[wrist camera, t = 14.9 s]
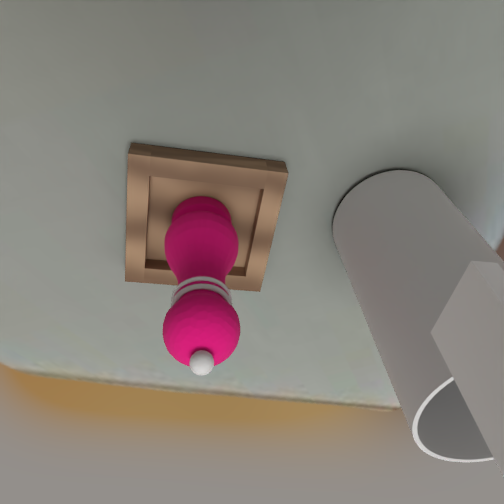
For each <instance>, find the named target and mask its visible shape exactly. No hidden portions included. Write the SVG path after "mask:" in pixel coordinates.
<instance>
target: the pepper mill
mask: <svg viewBox="0 0 504 504" xmlns="http://www.w3.org/2000/svg"><path fill="white" fill-rule="evenodd" d="M238 245H239V242H238V236H237V233H236V231H235V229H234V227H233V226H232V221H231V215H230V213H229V211H228V209H227V208H226V207H225V205H223V204H222V203H221V202H220V201H218V200H216V199H214V198H211V197H206V196H197V197H192V198H189V199H187V200H185V201H183V202H182V203H180V204H179V205H178V206H177V208H176V209H175V211H174V212H173V215H172V221H171V225H170V227H169V228H168V230H167V232H166V235H165V240H164V247H165V256H166V259H167V262H168V265H169V267H170V268H171V270H172V271H173V273H174V274H175V276H176V278H177V281H178V286H177V287H176V288H175V290H174V291H173V294H172V300H171V301H172V303H171V308H170V309H169V311H168V312H167V314H166V317H165V320H164V323H163V338H164V343H165V345H166V347H167V350H168V351H169V353H170V354H171V355H172V356H173V357H174V358H175V359H176V360H177V361H179V362H181V363H182V364H185V365H187V366H190V368H191V370H192V371H193V372H194V373H195V374H197V375H206V374H208V373H209V372H210V371H211V370H212V369H213V366H215V365H217V364H219V363H221V362H223V361H224V360H226V359H227V358H228V357H229V356H230V355H231V354H232V352H233V351H234V350H235V348H236V346H237V344H238V340H239V336H240V323H239V318H238V315H237V313H236V311H235V310H234V308H233V307H232V297H231V293H230V291H229V289H228V288H227V286H226V285H225V278H226V276H227V274H228V273H229V272H230V270H231V269H232V267H233V266H234V264H235V261H236V258H237V255H238Z"/></svg>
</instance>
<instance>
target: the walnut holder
mask: <svg viewBox="0 0 504 504" xmlns="http://www.w3.org/2000/svg"><path fill="white" fill-rule="evenodd" d="M287 177H288V171H287V168H286V165H285V162H281V161H273V160H265V159H257V158H249V157H241V156H233V155H225V154H217V153H209V152H201V151H193V150H185V149H177V148H169V147H161V146H153V145H145V144H137V143H131V145H130V149H129V152H128V175H127V218H126V261H125V281H127V282H140V283H154V284H167V285H178V281H177V278H176V276H175V274H174V273H173V271H172V270H171V268H170V267H169V265H168V262H167V259H166V256H165V247H164V240H165V235H166V232H167V230H168V228H169V227H170V225H171V221H172V215H173V212H174V211H175V209H176V208H177V206H178V205H179V204H180V203H182V202H183V201H185V200H187V199H189V198H192V197H197V196H206V197H211V198H214V199H216V200H218V201H220V202H221V203H222V204H223V205H225V207H226V208H227V209H228V211H229V213H230V215H231V221H232V226H233V227H234V229H235V231H236V233H237V236H238V242H239V245H238V255H237V258H236V261H235V264H234V266H233V267H232V269H231V270H230V272H229V273H228V274H227V276H226V278H225V285H226V286H227V288H228V289H233V290H246V291H259V292H260V290H261V285H262V281H263V277H264V273H265V269H266V265H267V260H268V256H269V252H270V248H271V244H272V239H273V235H274V231H275V227H276V223H277V219H278V214H279V210H280V206H281V202H282V198H283V194H284V189H285V185H286V181H287Z"/></svg>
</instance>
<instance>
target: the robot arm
mask: <svg viewBox="0 0 504 504" xmlns="http://www.w3.org/2000/svg"><path fill="white" fill-rule="evenodd" d="M430 333H431V335H432V337H433V339H434V340H435V342H436V344H437V346H438V348H439V350H440V352H441V354H442V356H443V358H444V360H445V362H446V364H447V366H448V368H449V370H450V372H451V374H452V376H453V378H454V380H455V382H456V384H457V386H458V388H459V390H460V392H461V394H462V396H463V398H464V400H465V402H466V404H467V406H468V408H469V410H470V412H471V414H472V416H473V418H474V420H475V422H476V424H477V426H478V428H479V430H480V432H481V434H482V436H483V438H484V440H485V442H486V444H487V446H488V448H489V450H490V452H491V454H492V456H493V458H494V460H495V462H496V463H497V465H498V467H499V469H500V471H501V473H502V475H503V477H504V271H503V269H502V268H501V267H500V266H499V264H498V263H493V262H482V261H471V262H470V264H469V265H468V267H467V269H466V271H465V272H464V274H463V276H462V278H461V279H460V281H459V283H458V285H457V287H456V288H455V290H454V292H453V294H452V295H451V297H450V299H449V301H448V302H447V304H446V306H445V308H444V309H443V311H442V313H441V315H440V316H439V318H438V320H437V322H436V323H435V325H434V327H433V329H432V331H431V332H430Z"/></svg>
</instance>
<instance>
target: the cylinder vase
mask: <svg viewBox="0 0 504 504" xmlns="http://www.w3.org/2000/svg"><path fill="white" fill-rule="evenodd" d="M333 238H334V242H335V245H336V247H337V250H338V252H339V255H340V257H341V259H342V262H343V264H344V267H345V269H346V272H347V274H348V277H349V279H350V282H351V284H352V287H353V289H354V292H355V294H356V297H357V299H358V302H359V304H360V306H361V309H362V311H363V314H364V316H365V319H366V321H367V324H368V326H369V329H370V331H371V334H372V336H373V339H374V341H375V344H376V346H377V349H378V351H379V353H380V356H381V358H382V361H383V363H384V366H385V368H386V371H387V373H388V376H389V378H390V381H391V383H392V386H393V388H394V391H395V393H396V396H397V398H398V401H399V403H400V405H401V408H402V410H403V413H404V415H405V418H406V420H407V423H408V425H409V428H410V430H411V433H412V435H413V437H414V440H415V442H416V444H417V445H418V446H419V447H420V448H421V449H422V450H423V451H424V452H425V453H427V454H429V455H431V456H433V457H435V458H439V459H442V460H447V461H453V462H478V461H486V460H493V459H494V458H493V456H492V454H491V452H490V450H489V448H488V446H487V444H486V442H485V440H484V438H483V436H482V434H481V432H480V430H479V428H478V426H477V424H476V422H475V420H474V418H473V416H472V414H471V412H470V410H469V408H468V406H467V404H466V402H465V400H464V398H463V396H462V394H461V392H460V390H459V388H458V386H457V384H456V382H455V380H454V378H453V376H452V374H451V372H450V370H449V368H448V366H447V364H446V362H445V360H444V358H443V356H442V354H441V352H440V350H439V348H438V346H437V344H436V342H435V340H434V339H433V337H432V335H431V333H430V332H431V331H432V329H433V327H434V325H435V323H436V322H437V320H438V318H439V316H440V315H441V313H442V311H443V309H444V308H445V306H446V304H447V302H448V301H449V299H450V297H451V295H452V294H453V292H454V290H455V288H456V287H457V285H458V283H459V281H460V279H461V278H462V276H463V274H464V272H465V271H466V269H467V267H468V265H469V264H470V262H471V261H482V262H493V263H498V264H499V266H500V267H501V268H502V269H503V271H504V262H503V260H502V259H501V258H500V257H499V256H498V255H497V253H496V252H495V251H494V250H493V249H492V248H491V246H490V245H489V244H488V243H487V242H486V241H485V240H484V238H483V237H482V236H481V235H480V234H479V233H478V231H477V230H476V229H475V228H474V227H473V226H472V225H471V223H470V222H469V221H468V220H467V219H466V218H465V216H464V215H463V214H462V213H461V212H460V211H459V210H458V208H457V207H456V206H455V205H454V204H453V203H452V201H451V200H450V199H449V198H448V197H447V196H446V195H445V193H444V192H443V191H442V190H441V189H440V188H439V186H438V185H437V184H436V183H435V182H434V181H432V180H431V179H430V178H428V177H427V176H425V175H423V174H420V173H417V172H413V171H407V170H394V171H387V172H383V173H380V174H377V175H374V176H372V177H370V178H368V179H366V180H364V181H363V182H361V183H360V184H358V185H357V186H356V187H354V188H353V189H352V190H351V191H350V192H349V193H348V194H347V195H346V196H345V198H344V199H343V200H342V202H341V203H340V205H339V207H338V209H337V211H336V214H335V217H334V221H333Z"/></svg>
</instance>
